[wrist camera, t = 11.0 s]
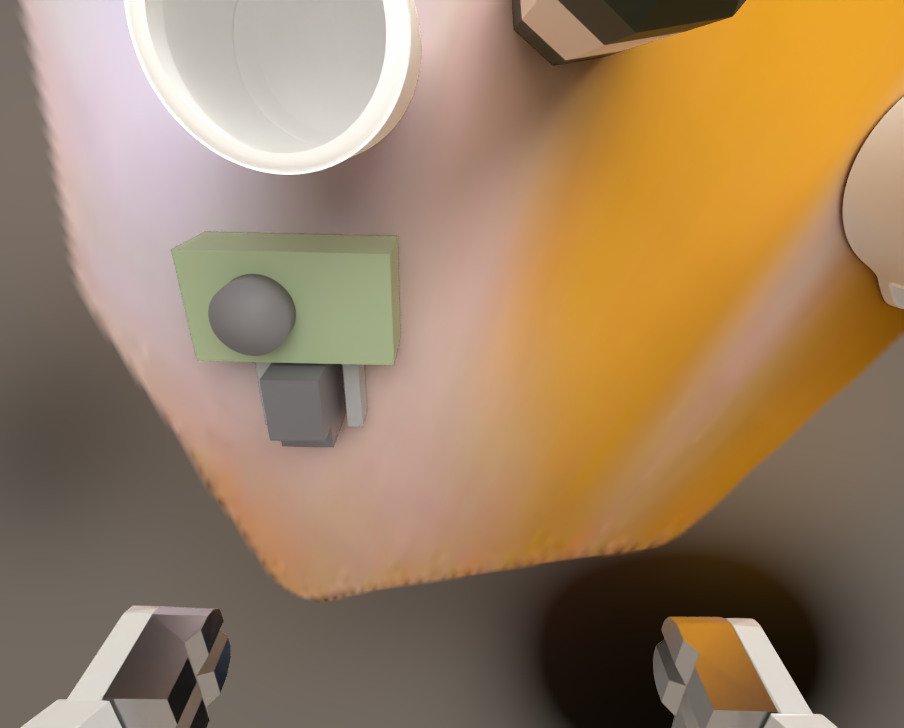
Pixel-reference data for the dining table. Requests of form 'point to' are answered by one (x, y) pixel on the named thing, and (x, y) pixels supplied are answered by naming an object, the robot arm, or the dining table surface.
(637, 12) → the wine bottle
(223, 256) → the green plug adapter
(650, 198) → the dining table surface
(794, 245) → the dining table surface
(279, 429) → the upright grey box
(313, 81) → the jar
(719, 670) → the robot arm
